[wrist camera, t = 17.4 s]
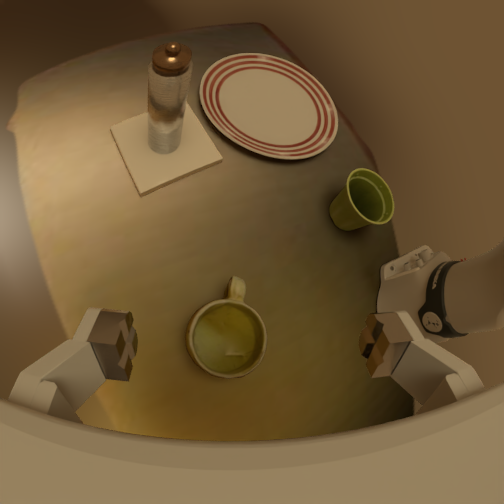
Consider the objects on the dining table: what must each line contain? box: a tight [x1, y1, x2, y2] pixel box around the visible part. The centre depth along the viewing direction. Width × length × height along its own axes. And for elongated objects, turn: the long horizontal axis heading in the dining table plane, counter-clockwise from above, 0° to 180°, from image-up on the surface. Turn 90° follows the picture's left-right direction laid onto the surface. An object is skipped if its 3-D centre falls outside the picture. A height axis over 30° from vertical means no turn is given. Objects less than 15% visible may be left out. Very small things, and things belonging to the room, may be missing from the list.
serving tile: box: [110, 102, 223, 197], centre depth 44 cm, size 14×14×1 cm
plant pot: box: [329, 168, 394, 231], centre depth 46 cm, size 9×9×9 cm
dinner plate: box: [199, 53, 338, 160], centre depth 51 cm, size 28×27×3 cm
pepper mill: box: [148, 42, 193, 154], centre depth 34 cm, size 5×5×20 cm
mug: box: [185, 276, 267, 379], centre depth 36 cm, size 12×10×10 cm
